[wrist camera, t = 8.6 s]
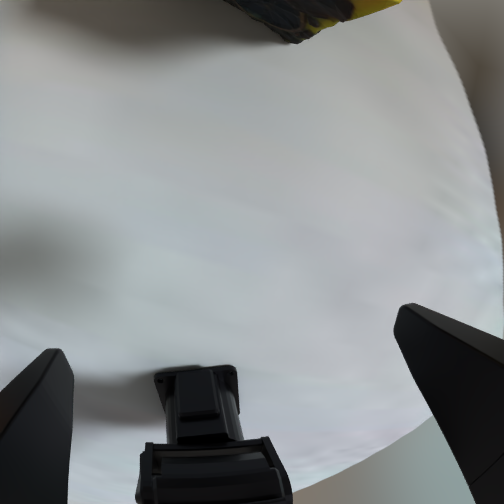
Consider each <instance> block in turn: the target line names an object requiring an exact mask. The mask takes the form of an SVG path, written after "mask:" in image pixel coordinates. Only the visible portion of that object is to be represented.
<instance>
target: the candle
mask: <svg viewBox="0 0 504 504" xmlns="http://www.w3.org/2000/svg"><path fill="white" fill-rule="evenodd" d="M224 1H226V2H228V3H229V4H231V5H233V6H235V7H237V8H238V9H240V10H242V11H244V12H246V13H247V14H248V15H249V16H250V17H251V18H252V19H254V20H257V21H260V22H263V23H264V24H265V25H266V26H268V27H269V28H270V29H271V30H272V31H274V32H276V33H278V34H279V35H280V36H281V37H282V38H283V39H284V40H285V41H287V42H290V43H294V44H299V43H301V42H302V41H303V40H306V39H310V38H311V37H313V36H314V35H316V34H317V33H319V32H320V31H321V30H322V29H325V28H327V27H331V26H334V25H335V24H337V23H338V22H339V21H340V22H345V21H350V20H353V19H357V18H360V17H363V16H366V15H369V14H372V13H375V12H377V11H380V10H383V9H386V8H388V7H391V6H394V5H396V4H399V3H400V2H401V1H402V0H224Z"/></svg>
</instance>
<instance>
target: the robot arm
mask: <svg viewBox="0 0 504 504" xmlns="http://www.w3.org/2000/svg"><path fill="white" fill-rule="evenodd" d="M393 331H394V336H395V339H396V341H397V343H398V345H399V348H400V350H401V352H402V354H403V356H404V359H405V361H406V363H407V365H408V368H409V370H410V372H411V374H412V377H413V379H414V380H415V382H416V384H417V386H418V388H419V390H420V391H421V393H422V395H423V397H424V399H425V401H426V402H427V404H428V406H429V408H430V410H431V412H432V414H433V415H434V417H435V419H436V421H437V423H438V425H439V427H440V429H441V431H442V433H443V434H444V437H445V439H446V441H447V442H448V445H449V447H450V449H451V450H452V453H453V455H454V457H455V459H456V461H457V463H458V465H459V467H460V469H461V471H462V473H463V476H464V478H465V480H466V482H467V484H468V486H469V489H470V491H471V494H472V496H473V498H474V501H475V503H476V504H504V340H503V339H501V338H498V337H496V336H493V335H491V334H489V333H486V332H484V331H481V330H479V329H477V328H474V327H472V326H469V325H467V324H464V323H462V322H460V321H457V320H455V319H452V318H450V317H447V316H445V315H443V314H440V313H438V312H435V311H433V310H430V309H428V308H425V307H423V306H420V305H418V304H416V303H409V304H405V305H402V306H401V307H400V308H399V311H398V315H397V318H396V322H395V325H394V330H393ZM154 382H155V385H156V388H157V391H158V394H159V397H160V400H161V403H162V406H163V408H164V411H165V414H166V434H167V444H154V443H153V442H146V443H145V451H143V453H142V454H140V474H139V479H138V484H137V489H136V494H135V500H136V503H138V504H293V495H292V488H291V484H290V480H289V477H288V475H287V472H286V470H285V468H284V466H283V464H282V463H281V461H280V459H279V457H278V455H277V453H276V451H275V449H274V447H273V445H272V442H271V440H270V438H269V437H268V436H266V437H261V438H259V439H250V440H244V437H243V433H242V429H241V425H240V420H239V416H238V415H239V414H240V408H239V394H238V379H237V370H236V368H235V367H234V366H225V367H217V368H208V369H199V370H189V371H179V372H167V373H158V374H156V375H155V376H154ZM73 391H74V375H73V371H72V369H71V367H70V365H69V363H68V361H67V359H66V357H65V355H64V353H63V351H62V350H61V349H59V348H50V349H46V350H45V351H43V352H42V353H41V354H40V355H39V356H38V357H37V358H36V359H35V360H34V361H32V362H31V363H30V364H29V365H28V366H27V367H26V368H25V369H24V370H23V371H22V372H21V373H20V374H18V375H17V376H16V377H15V378H14V379H13V380H12V381H11V382H10V383H9V384H8V385H7V386H6V387H5V388H4V389H3V390H2V391H1V392H0V504H67V500H68V476H69V461H70V450H71V440H72V425H73Z"/></svg>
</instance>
